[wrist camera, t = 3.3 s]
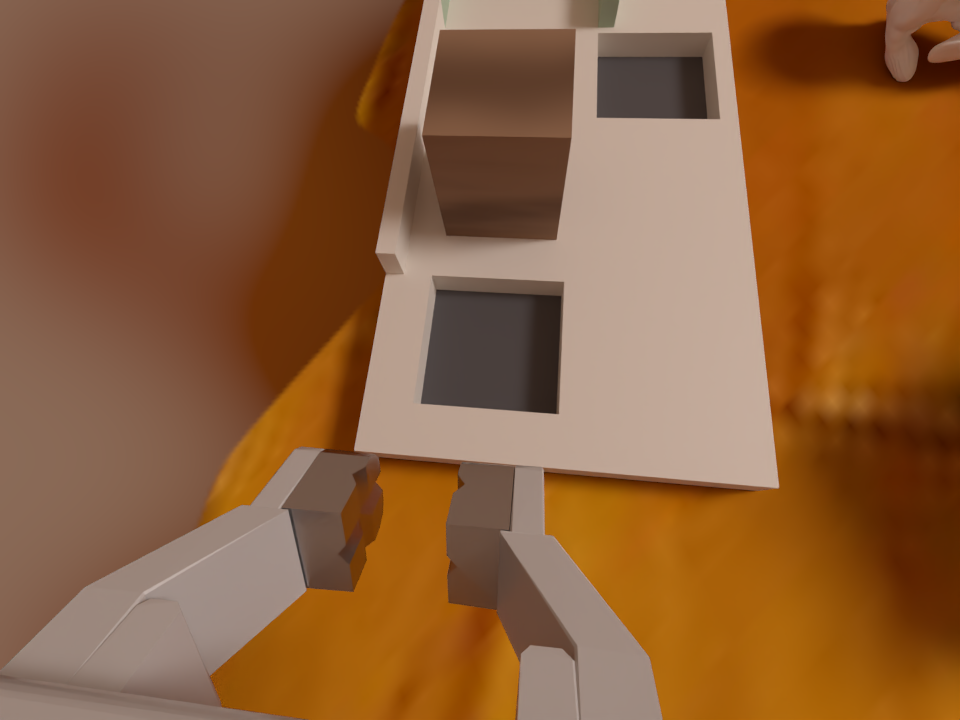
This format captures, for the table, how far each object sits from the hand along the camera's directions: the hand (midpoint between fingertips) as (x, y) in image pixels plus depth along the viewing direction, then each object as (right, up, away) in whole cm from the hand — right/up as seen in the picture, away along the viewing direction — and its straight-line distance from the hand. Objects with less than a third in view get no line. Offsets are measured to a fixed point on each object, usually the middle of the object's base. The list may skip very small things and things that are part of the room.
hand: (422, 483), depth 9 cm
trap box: (+6, +14, +19) cm, 25 cm away
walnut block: (+2, +12, +17) cm, 21 cm away
